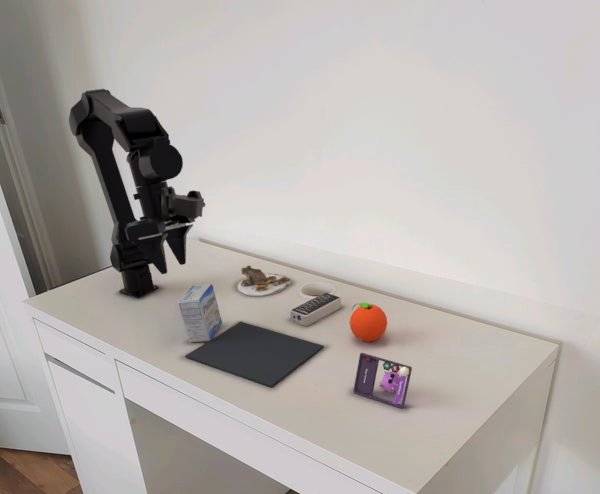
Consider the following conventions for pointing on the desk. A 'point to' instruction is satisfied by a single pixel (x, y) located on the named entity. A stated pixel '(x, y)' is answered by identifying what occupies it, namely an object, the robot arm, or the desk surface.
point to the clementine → (368, 322)
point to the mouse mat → (255, 353)
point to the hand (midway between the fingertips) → (174, 268)
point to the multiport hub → (315, 309)
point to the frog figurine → (261, 282)
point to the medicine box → (200, 313)
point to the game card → (390, 379)
